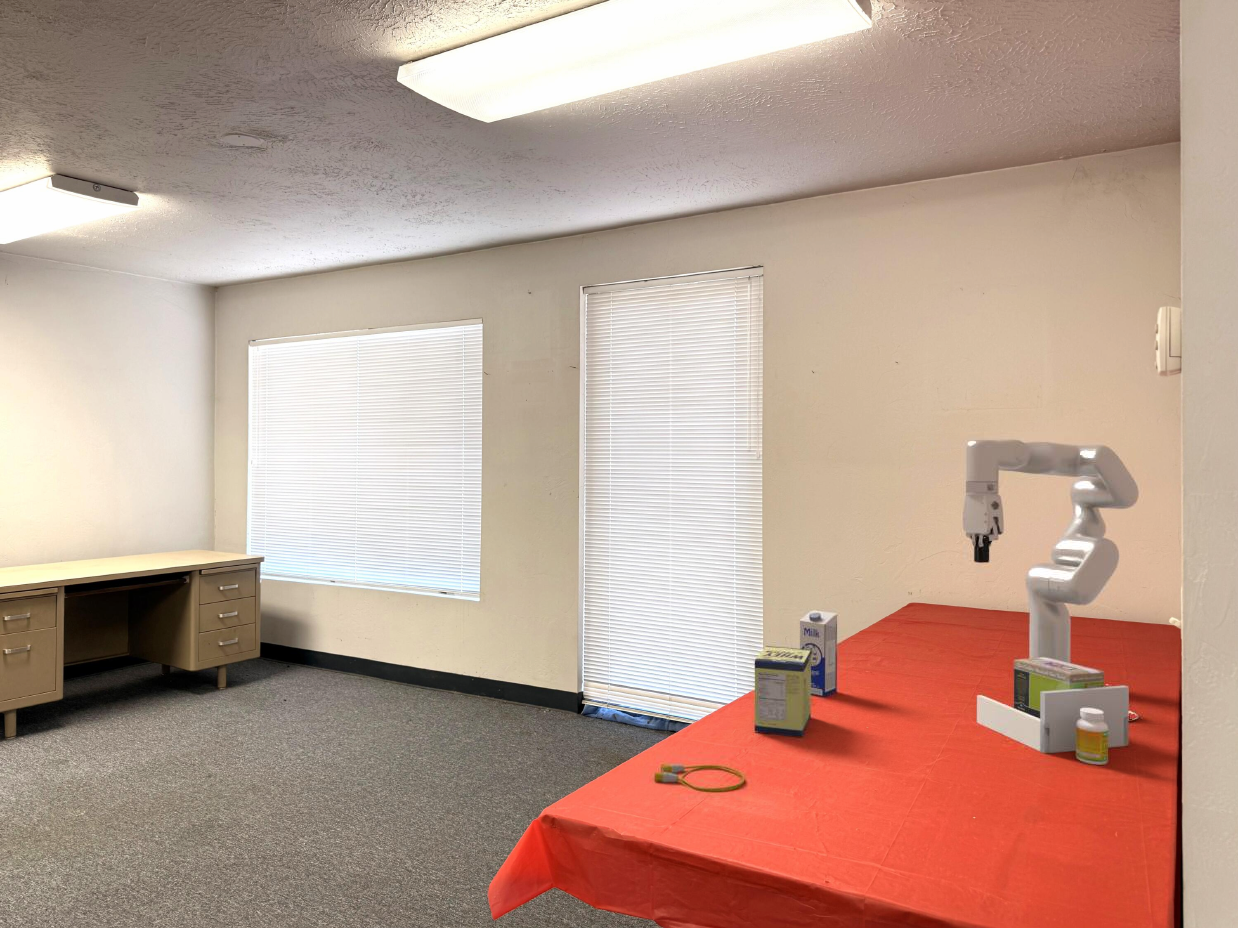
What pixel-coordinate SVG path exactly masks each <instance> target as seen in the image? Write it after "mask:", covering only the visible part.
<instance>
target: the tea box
mask: <svg viewBox="0 0 1238 928" xmlns="http://www.w3.org/2000/svg"><path fill="white" fill-rule="evenodd" d="M1097 687H1105V671H1103V670H1100V669H1096V668H1092V667H1087V666H1085V665H1079V664H1075V663H1071V662H1070V663H1068V662H1064V661H1060V660H1056V659H1052V658H1048V657H1042V658H1030V659H1029V658H1020V659H1019V658H1018V659H1013V708H1014V709H1017V710H1019V711H1022V712H1024V713H1027V714H1029V715H1032V716H1034V717H1036V718H1039V719H1040V692H1041V691H1055V690H1069V689H1083V688H1097Z"/></svg>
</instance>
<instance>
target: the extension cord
mask: <svg viewBox="0 0 1238 928" xmlns="http://www.w3.org/2000/svg"><path fill="white" fill-rule="evenodd" d="M687 769H691V770H688V771H686V772H685V773H684V774H682V776H681V777H680V778H679V775H678V774H677V773H682V772H684V771H685V770H687ZM702 769H715V770H721V771H725V772H728V773H731V774H733V775H735V776H737V777H739V778H740V779H741V780H742V781H741V782H739V783H736V784H734V785H730V786H723V787H698V786H695V785H693V784H691V783H690V782H688V781H687V780H685V779H684V778H685V776H687V775H688V774H690V773H692V772H694V771H698V770H702ZM745 780H746V779H745V775H744V774H743V773H742V772H740V771H739V770H737V769H734V768H732V767H728V766H723V765H717V764H715V765H714V764H704V765H703V764H702V765H693V766H691V765H690V766H684V764H674V763H672V764H671V763H670V764H661V766H660V772H659V771H658V772H657V771H655V772H654V782H655V783H656V782H661V783H678V782H680V784H682V785H683V786H684V787H686V788H689V789H690V787H691V788H693V789H694V790H697V791H701V792H729V791H733V790H736V789H738V788H740V787H741V786H742V785H743V784H745ZM689 786H690V787H689Z"/></svg>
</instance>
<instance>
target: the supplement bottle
mask: <svg viewBox="0 0 1238 928" xmlns="http://www.w3.org/2000/svg"><path fill="white" fill-rule="evenodd" d="M1080 716H1081V717H1082V719H1079V720H1078V721H1077V722H1076V751H1075V757H1076V759H1077V760H1079V761H1080V762H1082V763H1084V764H1090V765H1097V766H1099V765H1100V766H1101V765H1102V766H1103V765H1106V764H1107V763H1108V762H1109V747H1108V726H1107V724H1106V723H1104V722H1103V721H1102V720H1104V712H1103V711H1101V710H1098V709H1094V708H1081V709H1080Z"/></svg>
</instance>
